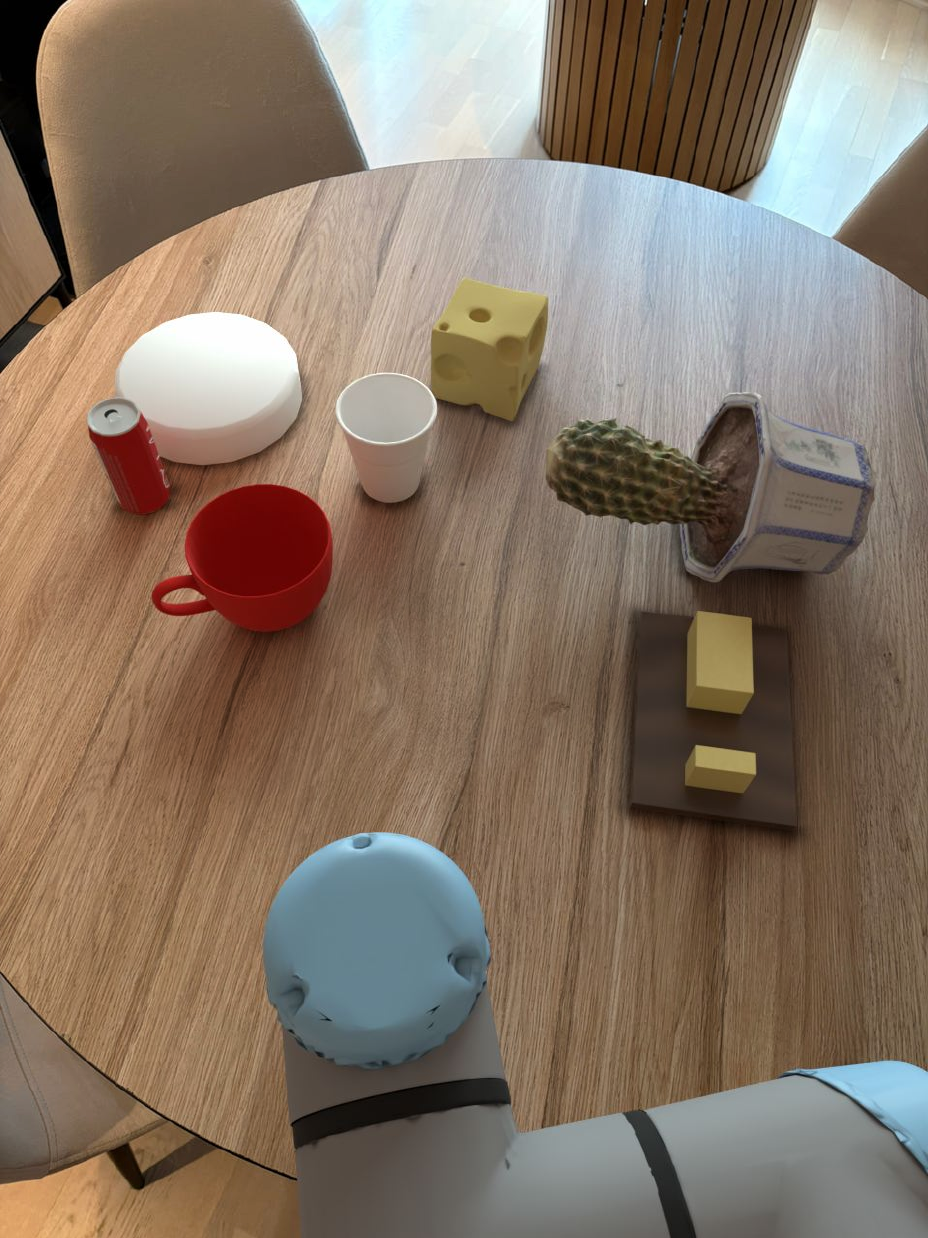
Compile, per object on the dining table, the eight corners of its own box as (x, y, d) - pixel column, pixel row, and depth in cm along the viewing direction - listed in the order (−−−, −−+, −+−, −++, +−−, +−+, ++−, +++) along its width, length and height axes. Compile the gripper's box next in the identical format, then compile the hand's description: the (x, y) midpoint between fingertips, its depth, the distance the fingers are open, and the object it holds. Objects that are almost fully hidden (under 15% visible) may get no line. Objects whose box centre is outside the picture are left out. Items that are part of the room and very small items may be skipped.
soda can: (181, 500, 99) (153, 417, 89) (134, 525, 98) (99, 443, 87) (155, 468, 102) (124, 384, 92) (108, 492, 100) (72, 409, 90)
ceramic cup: (148, 595, 93) (120, 531, 84) (307, 530, 98) (295, 464, 89) (196, 698, 87) (170, 640, 78) (363, 623, 92) (356, 562, 83)
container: (90, 441, 104) (76, 409, 100) (172, 324, 114) (163, 292, 110) (260, 483, 101) (253, 453, 97) (328, 360, 112) (324, 328, 108)
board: (793, 831, 81) (797, 826, 80) (629, 808, 82) (631, 803, 81) (783, 635, 92) (787, 629, 91) (638, 616, 93) (640, 610, 92)
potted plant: (870, 378, 91) (576, 315, 84) (916, 531, 82) (591, 474, 75) (772, 488, 106) (515, 442, 99) (802, 629, 97) (521, 588, 90)
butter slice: (743, 793, 82) (756, 774, 78) (684, 785, 82) (695, 766, 79) (742, 772, 83) (755, 753, 80) (685, 764, 83) (695, 744, 80)
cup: (363, 530, 98) (356, 457, 89) (331, 464, 103) (320, 388, 94) (452, 502, 100) (453, 427, 91) (415, 438, 105) (413, 361, 96)
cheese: (514, 424, 107) (521, 355, 98) (425, 398, 109) (424, 328, 100) (543, 365, 112) (552, 294, 104) (458, 341, 114) (460, 270, 106)
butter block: (741, 714, 86) (754, 693, 83) (686, 707, 86) (696, 685, 83) (740, 640, 90) (751, 617, 87) (687, 633, 91) (697, 610, 87)
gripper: (345, 845, 48) (371, 959, 68) (268, 1198, 40) (324, 1210, 59) (493, 867, 47) (476, 975, 67) (447, 1228, 39) (443, 1230, 59)
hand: (404, 1085), depth 63 cm, fingers closed on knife, 2 cm apart
